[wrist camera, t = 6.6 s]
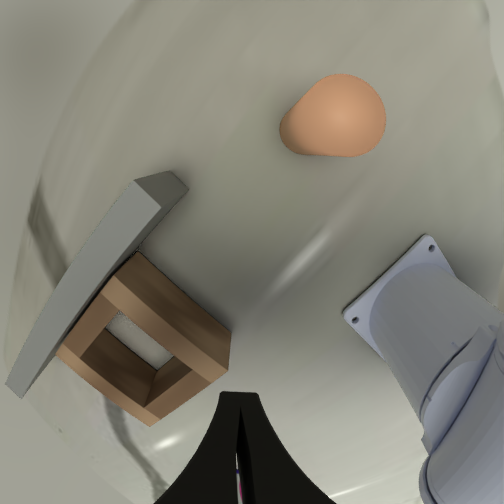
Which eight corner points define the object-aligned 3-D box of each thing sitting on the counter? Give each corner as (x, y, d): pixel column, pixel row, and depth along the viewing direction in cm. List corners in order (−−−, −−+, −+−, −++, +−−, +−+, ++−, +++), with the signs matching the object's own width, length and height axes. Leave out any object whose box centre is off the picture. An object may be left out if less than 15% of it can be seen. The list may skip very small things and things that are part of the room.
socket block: (231, 332, 20) (228, 370, 17) (161, 390, 22) (149, 426, 18) (138, 251, 19) (113, 275, 15) (79, 324, 20) (54, 354, 16)
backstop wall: (189, 189, 18) (161, 207, 12) (55, 354, 21) (21, 399, 16) (169, 170, 17) (133, 180, 12) (41, 341, 21) (5, 383, 15)
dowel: (338, 132, 17) (401, 121, 9) (303, 164, 17) (345, 174, 10) (304, 97, 16) (345, 58, 8) (269, 129, 17) (285, 110, 9)
